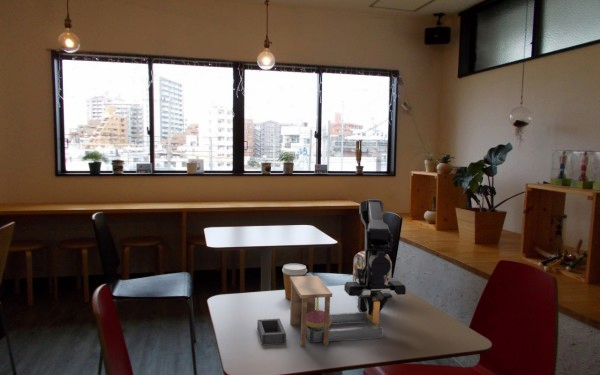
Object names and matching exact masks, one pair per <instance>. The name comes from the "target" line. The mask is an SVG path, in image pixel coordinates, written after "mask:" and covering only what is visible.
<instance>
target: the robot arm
mask: <svg viewBox="0 0 600 375" xmlns="http://www.w3.org/2000/svg"><path fill="white" fill-rule="evenodd" d="M384 206H385V203H384V202H382V200H381V199H378V198H368V199H366V200H364V201H361V202H359V207H358V208H359V209H358V211H359V213H358V214H359V215H360V220H361V222H362V224H363V226H364V251H365V267H364V268H363V270H362V269H356V271H355V278H356V279H358V282H353V281H346V282H345V284H344V289H343V290H344V292H345V293H346V294H347V295H348V297H349V296H350V297H357V305H356V306H357V308H358V310H359V312H367V310H368V314H369V315H371V312H372V299H373V296H374V297H375V298H376V299H377V300H378V301H380V310H379V314H380V313H381V311H382V309H383V308H384V306H385V304H386V303H387V302H388V300H389V299H390V298H393V295H392V294H391V292H392V291H393V292H394V293H395V294H396V295H397V296H399V295H400V296H401V295H402V296H403V295H407V287H406V285H405V284H404V283H402V282H401V281H400V280H391V281H389V282H388V285H386V284H385V275H387V273H388V272H389V271H390V269H391V264H390V261H389V259H388V257H387V254H388V252H389V253H392V252H393V249H394V236H393V234H392V231H390V228H389V225H388V224H387V223H386V222H384V219H383V215H384V212H385V208H384Z"/></svg>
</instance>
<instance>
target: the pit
mask: <svg viewBox="0 0 600 375" xmlns="http://www.w3.org/2000/svg"><path fill="white" fill-rule="evenodd" d="M256 324H257V326H256V327H257V328H256V329H257V333H258V336H259V340H260V343H261V346H266V345H281V344H282V345H283V344H287V343H286V342H287V340H286V338H287V332H286V331H285V328H284V326H283V324H282V321H281V319H280V318H267V319H266V318H264V319H257V323H256Z"/></svg>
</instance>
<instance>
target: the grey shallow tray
mask: <svg viewBox="0 0 600 375" xmlns="http://www.w3.org/2000/svg"><path fill="white" fill-rule="evenodd" d="M379 310H380V301H378V300H377V299H376V298H375V297H374V296H373V299H372V312H371V315H369V314H368V310H367V312H361V311H357V312H338V313H330V314H329V315H330V316H331V318H332V319H331V320H332V322H331V325H332V324H350V323H353V324H355V323H365V324H366V325H367V326H368V327H356V328H337V329H329V338H328V342H335V341H336V342H338V341H353V340H365V339H366V340H367V339H381V338H383V327H382V326H381V325H380V324H379V323H380V313H379ZM323 335H324V330H319V331H313V330H312V328H311V327H309V326H307V325H306V338H307V339H308V342H309V343H323Z"/></svg>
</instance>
